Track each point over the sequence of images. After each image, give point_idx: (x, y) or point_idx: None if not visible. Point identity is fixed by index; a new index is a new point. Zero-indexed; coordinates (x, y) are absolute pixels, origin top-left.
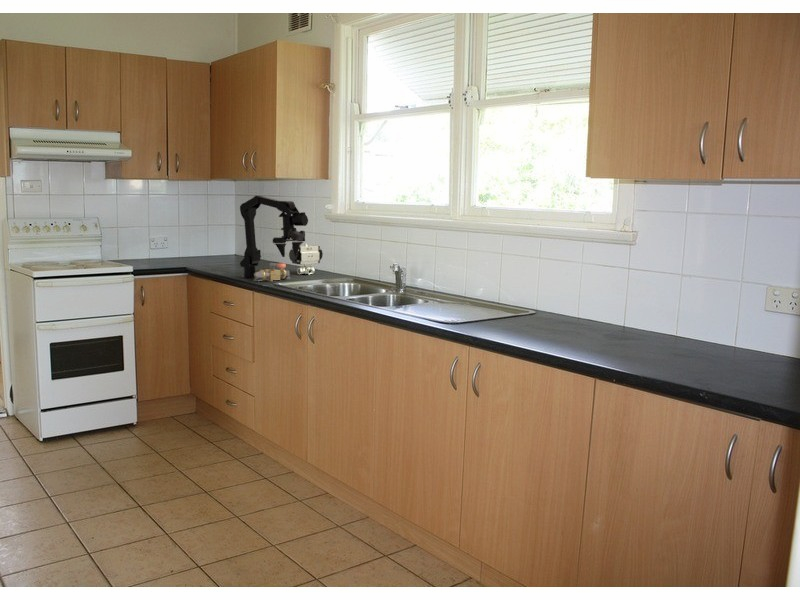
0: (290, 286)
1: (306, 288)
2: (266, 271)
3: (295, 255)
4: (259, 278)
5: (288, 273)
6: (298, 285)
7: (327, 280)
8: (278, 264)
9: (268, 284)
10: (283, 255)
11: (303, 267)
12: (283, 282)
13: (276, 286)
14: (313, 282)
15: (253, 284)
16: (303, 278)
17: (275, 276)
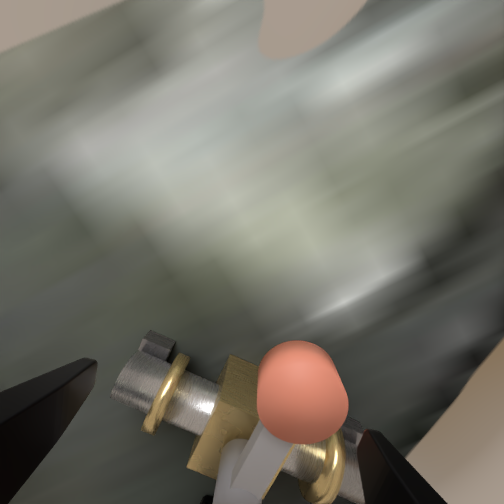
0: (443, 178)
1: (497, 24)
2: (292, 462)
3: (95, 374)
4: (346, 440)
5: (143, 358)
6: (375, 154)
7: (50, 96)
8: (345, 412)
9: (413, 337)
10: (395, 457)
11: None
12: (291, 303)
13: (478, 256)
14: (192, 135)
15: (448, 406)
16: (66, 282)
17: None
